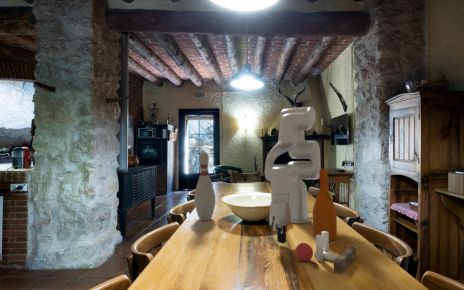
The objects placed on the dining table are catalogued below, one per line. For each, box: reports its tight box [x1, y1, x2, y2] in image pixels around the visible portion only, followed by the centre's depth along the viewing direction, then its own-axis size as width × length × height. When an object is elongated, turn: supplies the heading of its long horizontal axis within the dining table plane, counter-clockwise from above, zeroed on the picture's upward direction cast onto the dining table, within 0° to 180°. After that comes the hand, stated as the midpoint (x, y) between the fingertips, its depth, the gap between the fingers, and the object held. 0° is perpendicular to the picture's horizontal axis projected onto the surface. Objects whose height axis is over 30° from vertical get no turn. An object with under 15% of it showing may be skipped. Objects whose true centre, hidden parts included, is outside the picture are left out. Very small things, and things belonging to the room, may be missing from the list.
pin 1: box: [315, 235, 324, 262], centre depth 91 cm, size 2×2×8 cm
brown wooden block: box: [333, 245, 357, 275], centre depth 88 cm, size 16×2×4 cm, turn 138°
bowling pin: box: [193, 151, 216, 222], centre depth 144 cm, size 11×12×38 cm
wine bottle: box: [312, 168, 338, 242], centre depth 112 cm, size 10×10×30 cm
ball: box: [295, 242, 314, 262], centre depth 91 cm, size 6×6×6 cm
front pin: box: [313, 248, 340, 262], centre depth 92 cm, size 2×2×8 cm
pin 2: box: [322, 231, 330, 253], centre depth 95 cm, size 2×2×8 cm
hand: (281, 242), depth 105 cm, fingers closed
